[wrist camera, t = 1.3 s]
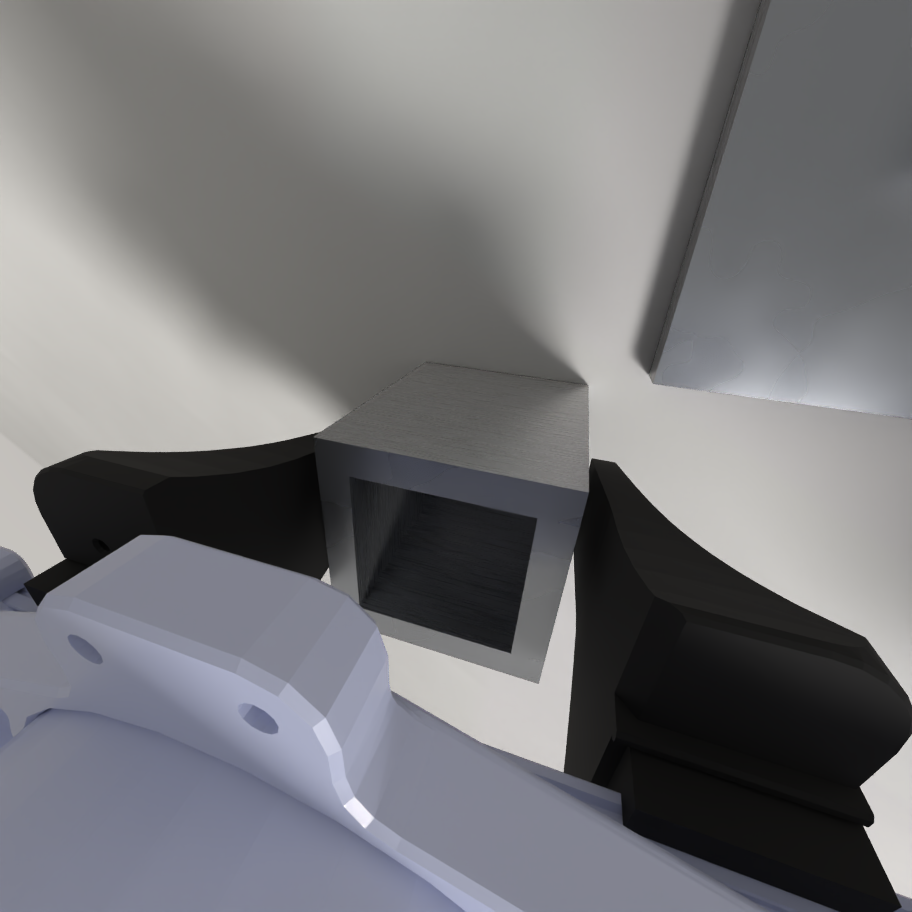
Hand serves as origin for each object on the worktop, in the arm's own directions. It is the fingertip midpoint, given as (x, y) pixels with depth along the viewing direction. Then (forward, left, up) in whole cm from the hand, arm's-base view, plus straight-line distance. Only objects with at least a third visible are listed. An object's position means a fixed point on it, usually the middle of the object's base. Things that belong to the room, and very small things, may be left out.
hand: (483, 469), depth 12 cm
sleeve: (0, 0, -2) cm, 2 cm away
